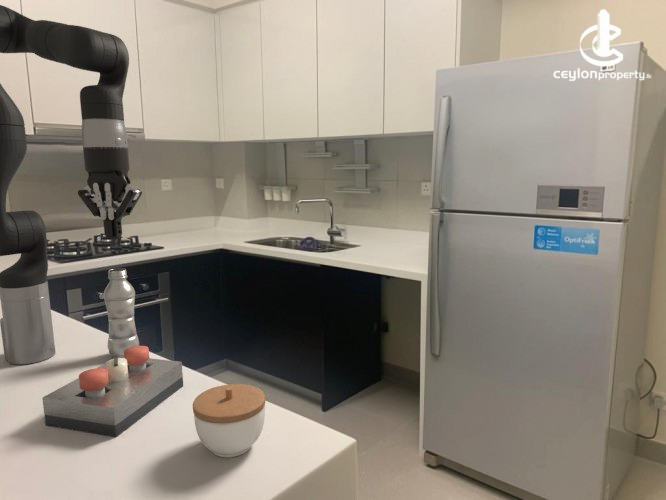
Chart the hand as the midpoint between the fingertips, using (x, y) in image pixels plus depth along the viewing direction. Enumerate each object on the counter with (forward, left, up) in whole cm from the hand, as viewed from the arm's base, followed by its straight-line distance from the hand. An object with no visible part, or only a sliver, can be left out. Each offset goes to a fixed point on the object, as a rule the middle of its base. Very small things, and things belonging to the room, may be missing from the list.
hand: (113, 239), depth 93 cm
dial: (+5, -8, -24) cm, 26 cm away
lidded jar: (+31, -15, -29) cm, 45 cm away
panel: (+5, -8, -29) cm, 30 cm away
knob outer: (+5, -14, -27) cm, 30 cm away
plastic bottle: (-10, +12, -29) cm, 33 cm away
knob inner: (+5, -2, -27) cm, 27 cm away
